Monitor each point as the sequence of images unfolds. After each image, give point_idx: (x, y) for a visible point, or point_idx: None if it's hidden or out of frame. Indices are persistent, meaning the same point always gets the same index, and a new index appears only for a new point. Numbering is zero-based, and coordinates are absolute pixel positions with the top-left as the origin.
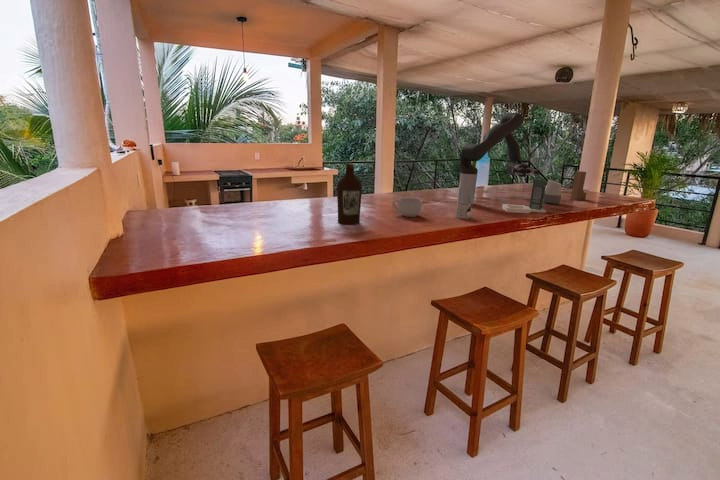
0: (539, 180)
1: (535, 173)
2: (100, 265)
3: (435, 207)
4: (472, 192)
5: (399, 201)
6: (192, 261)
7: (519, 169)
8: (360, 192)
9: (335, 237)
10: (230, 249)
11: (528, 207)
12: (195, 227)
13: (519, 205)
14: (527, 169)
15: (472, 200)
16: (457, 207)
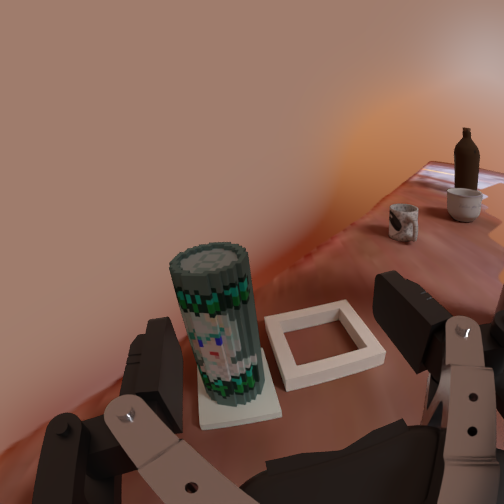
0: (203, 275)
1: (178, 359)
2: (445, 162)
3: (501, 264)
4: (502, 288)
5: (473, 193)
6: (430, 165)
7: (421, 294)
8: (455, 157)
9: (427, 180)
10: (439, 169)
11: (267, 390)
12: (494, 176)
13: (311, 365)
14: (307, 497)
15: (492, 321)
16: (410, 211)
